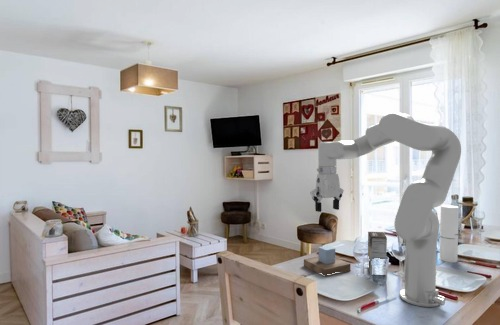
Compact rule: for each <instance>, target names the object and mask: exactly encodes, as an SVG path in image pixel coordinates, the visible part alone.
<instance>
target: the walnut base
mask: <svg viewBox="0 0 500 325" xmlns="http://www.w3.org/2000/svg"><path fill="white" fill-rule="evenodd" d="M318 257H319V255H318V256H314V257H308V258H303V267H305V268H307V269H309V270H311V271H313V272H315V273H316V274H318V273H322V274H323V275H327V274H332V273H335V272H343V273H346V272H350V271H351V263H349V262H347V261H345V260H342V259H341V258H337V257H336V256H335V262H334V263H330V264H324V263H322V262H320V261H318Z"/></svg>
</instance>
